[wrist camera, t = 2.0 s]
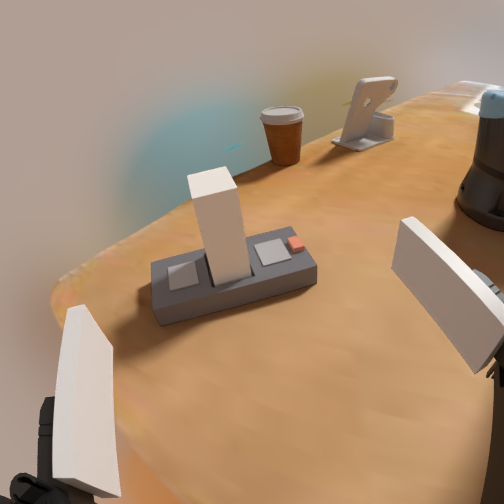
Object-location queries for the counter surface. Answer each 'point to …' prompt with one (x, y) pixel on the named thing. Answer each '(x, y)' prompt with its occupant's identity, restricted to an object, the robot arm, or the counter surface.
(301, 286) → the power strip
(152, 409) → the counter surface
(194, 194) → the block
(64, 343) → the robot arm
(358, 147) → the phone holder
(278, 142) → the disposable coffee cup
